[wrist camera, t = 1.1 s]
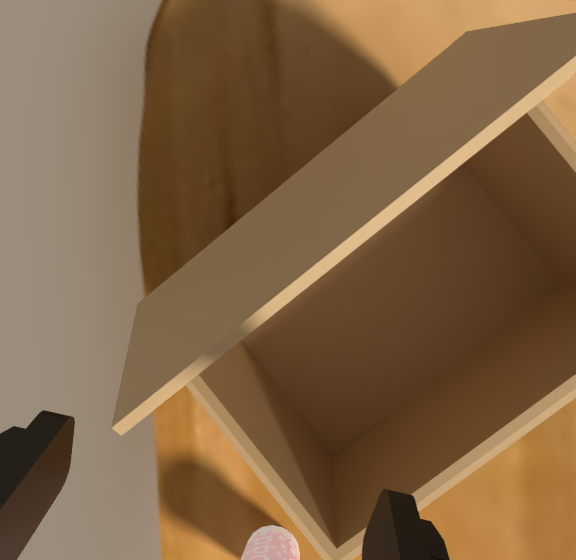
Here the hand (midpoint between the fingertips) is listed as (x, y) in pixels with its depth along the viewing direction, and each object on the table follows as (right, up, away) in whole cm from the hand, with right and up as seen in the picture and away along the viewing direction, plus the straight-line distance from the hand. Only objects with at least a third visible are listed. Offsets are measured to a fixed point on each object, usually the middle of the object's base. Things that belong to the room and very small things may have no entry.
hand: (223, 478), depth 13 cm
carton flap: (+3, +9, +10) cm, 13 cm away
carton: (+9, +4, +28) cm, 30 cm away
